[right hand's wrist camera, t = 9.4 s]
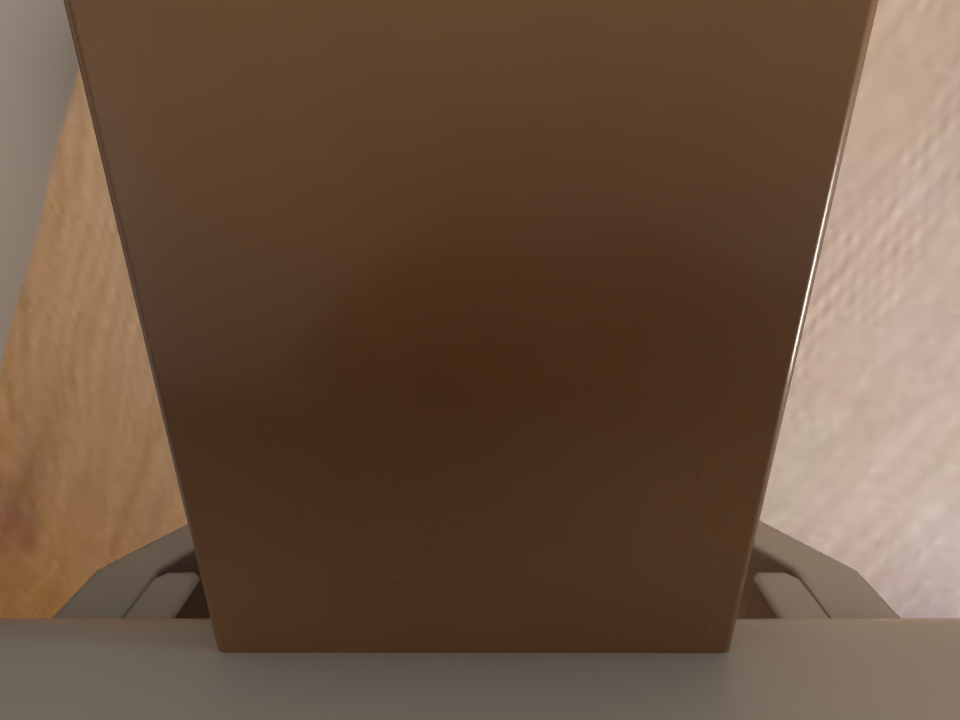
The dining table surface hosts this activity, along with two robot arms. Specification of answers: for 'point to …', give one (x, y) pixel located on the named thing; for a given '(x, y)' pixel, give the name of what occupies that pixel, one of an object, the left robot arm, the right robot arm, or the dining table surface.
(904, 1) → the dining table surface
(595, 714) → the right robot arm
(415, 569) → the bar
